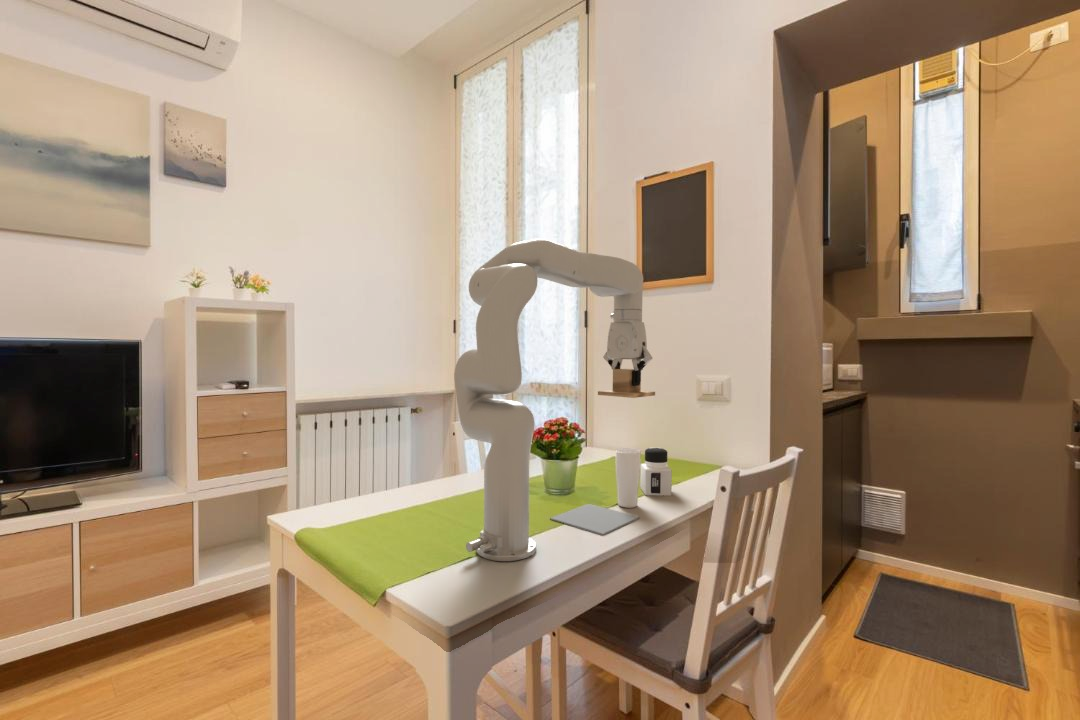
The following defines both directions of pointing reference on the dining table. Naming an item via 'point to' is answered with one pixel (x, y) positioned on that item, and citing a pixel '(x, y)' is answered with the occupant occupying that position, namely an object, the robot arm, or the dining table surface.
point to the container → (656, 473)
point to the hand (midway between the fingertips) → (626, 384)
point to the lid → (625, 386)
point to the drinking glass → (627, 476)
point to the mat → (595, 519)
